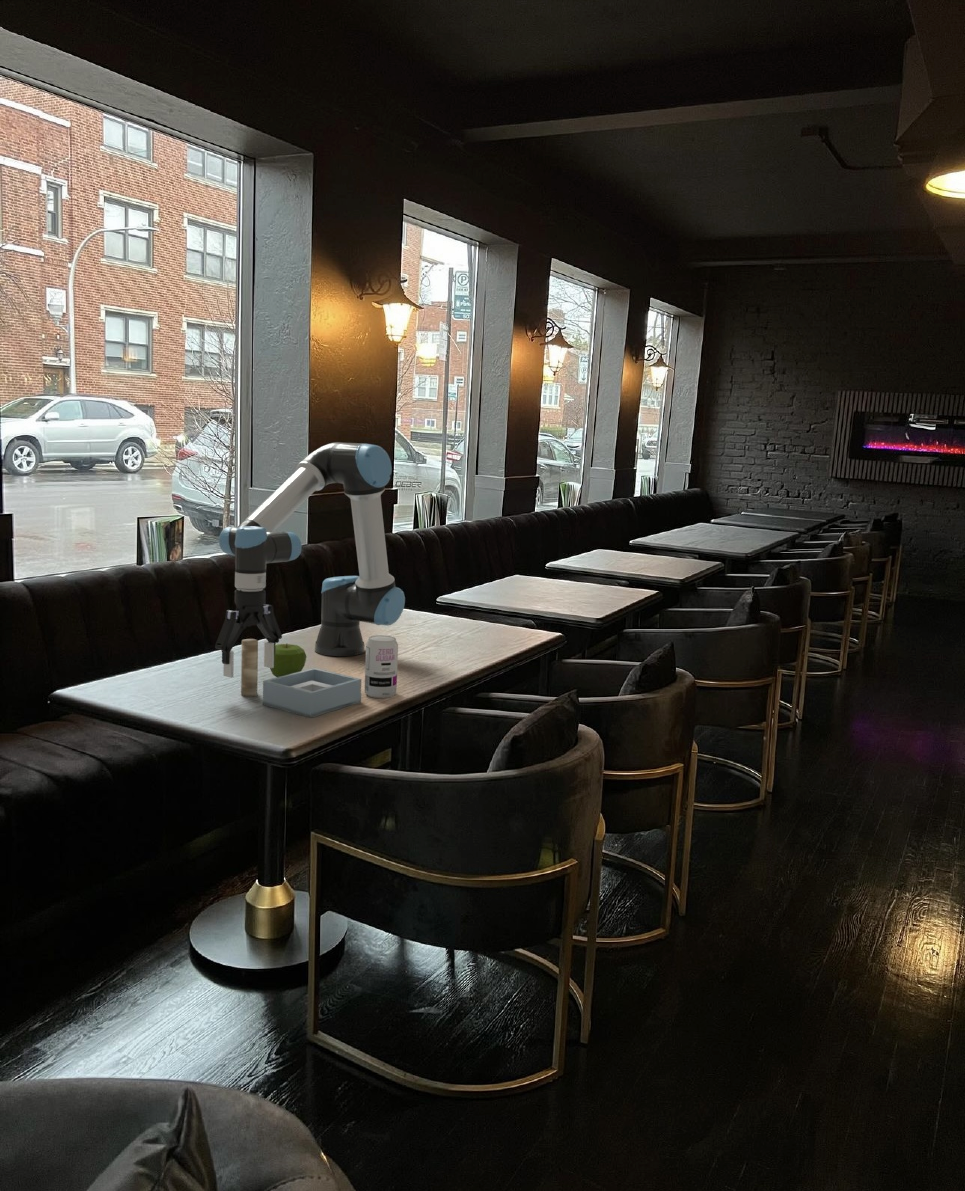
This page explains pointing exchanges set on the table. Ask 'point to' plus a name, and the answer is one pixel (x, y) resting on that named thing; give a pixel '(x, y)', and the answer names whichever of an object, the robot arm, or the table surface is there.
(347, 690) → the crate
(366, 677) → the supplement can
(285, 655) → the apple
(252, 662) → the peg
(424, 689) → the table surface
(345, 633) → the robot arm
